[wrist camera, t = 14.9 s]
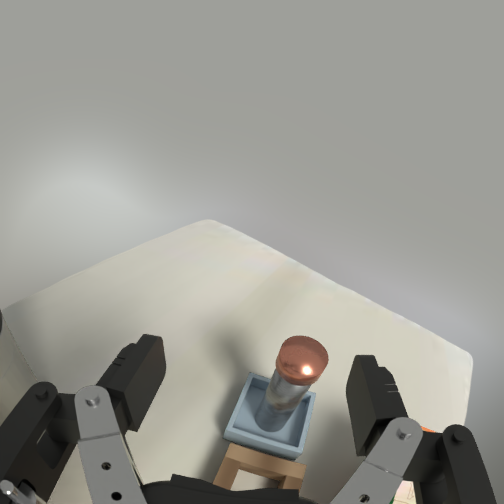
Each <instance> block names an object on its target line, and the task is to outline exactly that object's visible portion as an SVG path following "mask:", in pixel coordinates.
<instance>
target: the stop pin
mask: <svg viewBox="0 0 504 504" xmlns="http://www.w3.org/2000/svg"><path fill="white" fill-rule="evenodd" d="M327 364H328V354H327V351H326V349H325V348H324V347H323V346H322V344H320V343H319V342H318V341H316V340H315V339H312V338H310V337H306V336H293V337H290V338H288V339H287V340H285V341H284V343H283V344H282V346H281V349H280V351H279V354H278V356H277V359H276V369H275V371H274V374H273V376H272V378H271V381H270V383H269V385H268V387H267V390H266V392H265V394H264V396H263V399H262V401H261V403H260V405H259V407H258V410H257V412H256V414H255V422H256V424H257V426H258V427H259V428H260V429H262V430H264V431H266V432H277V431H280V430H281V429H282V428H283V427H284V426H285V424H286V423H287V421H288V420H289V418H290V417H291V415H292V414H293V412H294V411H295V409H296V408H297V406H298V405H299V403H300V402H301V400H302V399H303V397H304V396H305V394H306V393H307V391H308V389H309V388H310V386H311V385H312V384H313V383H315V382H316V381H317V380H318V379H319V377H320V376H321V374H322V373H323V371H324V369H325V368H326V366H327Z"/></svg>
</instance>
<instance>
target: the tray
mask: <svg viewBox="0 0 504 504" xmlns="http://www.w3.org/2000/svg"><path fill="white" fill-rule="evenodd" d="M270 381H271V379H268V378H265V377H262V376H259V375H257V374H254V373H251V372H250V373H249V376H248V378H247V381H246V383H245V385H244V388H243V390H242V393H241V395H240V397H239V400H238V402H237V404H236V407H235V409H234V411H233V414H232V416H231V418H230V420H229V423H228V425H227V427H226V430H225V433H224V436H223V438H224V439H226V440H229V441H232V442H235V443H238V444H240V445H243V446H246V447H249V448H252V449H256V450H259V451H262V452H265V453H269V454H272V455H275V456H279V457H283V458H286V459H290V460H296V459H297V458H298V457H299V456H300V455H301V454H302V451H303V448H304V444H305V440H306V436H307V431H308V427H309V423H310V419H311V414H312V410H313V405H314V401H315V396H316V393H313V392H310V391H307V393H306V394H305V396H304V397H303V399H302V400H301V402H300V403H299V405H298V406H297V408H296V409H295V411H294V412H293V414H292V415H291V417H290V418H289V420H288V421H287V423H286V424H285V426H284V427H283V428H282V429H281V430H280V431H277V432H266V431H264V430H262V429H260V428H259V427H258V426H257V424H256V422H255V414H256V412H257V410H258V407H259V405H260V403H261V401H262V399H263V396H264V394H265V392H266V390H267V387H268V385H269V383H270Z"/></svg>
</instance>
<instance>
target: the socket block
mask: <svg viewBox="0 0 504 504" xmlns="http://www.w3.org/2000/svg"><path fill="white" fill-rule="evenodd" d="M306 466H307V465H304V464H300V463H296V462H292V461H288V460H285V459H281V458H277V457H274V456H270V455H267V454H264V453H260V452H257V451H254V450H251V449H248V448H245V447H242V446H239V445H236V444H233V443H230V445H229V447H228V450H227V452H226V454H225V457H224V459H223V461H222V464H221V466H220V468H219V470H218V473H217V475H216V477H215V479H214V482H213V484H214V485H217V486H220V487H222V488H225V489H228V490H230V489H231V486H232V484H233V482H234V479H235V477H236V474H237V472H238V469H241V470H244V471H247V472H250V473H253V474H256V475H260V476H263V477H267V478H270V479H274V480H278V481H280V482H279V485H278V488H277V489H299V492H300V489H301V485H302V481H303V478H304V474H305V470H306Z"/></svg>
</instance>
